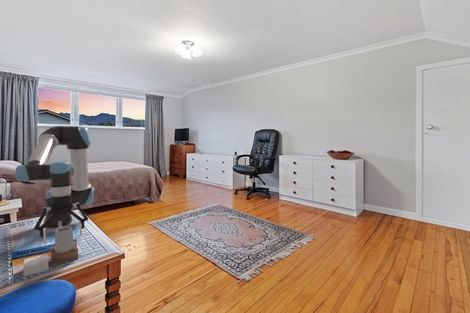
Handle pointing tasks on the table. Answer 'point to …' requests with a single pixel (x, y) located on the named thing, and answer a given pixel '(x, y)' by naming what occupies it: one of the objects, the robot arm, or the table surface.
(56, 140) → the robot arm
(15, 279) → the table surface
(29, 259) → the grey block
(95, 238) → the table surface
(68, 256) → the walnut block
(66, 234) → the mug
